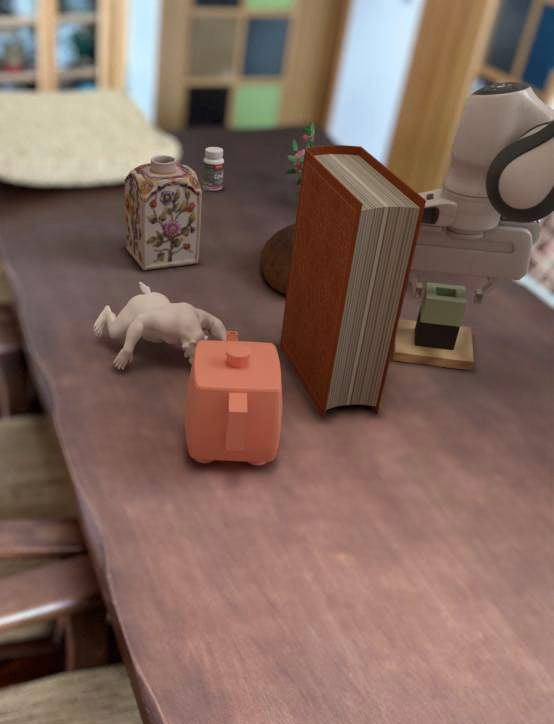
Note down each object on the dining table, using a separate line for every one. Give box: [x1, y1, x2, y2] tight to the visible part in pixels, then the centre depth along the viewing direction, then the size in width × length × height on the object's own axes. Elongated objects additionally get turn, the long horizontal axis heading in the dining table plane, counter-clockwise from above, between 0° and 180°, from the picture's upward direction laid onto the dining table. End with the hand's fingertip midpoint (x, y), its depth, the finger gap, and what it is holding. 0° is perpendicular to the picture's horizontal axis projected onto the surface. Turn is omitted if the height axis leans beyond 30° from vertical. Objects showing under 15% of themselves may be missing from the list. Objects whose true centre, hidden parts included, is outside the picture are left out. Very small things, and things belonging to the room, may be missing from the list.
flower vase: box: [284, 121, 324, 186], centre depth 181 cm, size 12×12×35 cm
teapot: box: [184, 330, 283, 466], centre depth 108 cm, size 22×13×14 cm, turn 177°
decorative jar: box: [124, 154, 203, 272], centre depth 154 cm, size 12×12×18 cm
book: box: [279, 144, 426, 420], centre depth 116 cm, size 23×8×30 cm, turn 9°
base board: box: [392, 318, 475, 371], centre depth 130 cm, size 12×12×8 cm
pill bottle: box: [201, 146, 225, 192], centre depth 187 cm, size 5×5×8 cm
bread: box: [259, 223, 295, 295], centre depth 151 cm, size 28×27×9 cm
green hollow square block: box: [420, 281, 468, 327], centre depth 128 cm, size 6×6×4 cm
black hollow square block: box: [415, 305, 460, 350], centre depth 131 cm, size 6×6×4 cm
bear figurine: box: [92, 281, 228, 371], centre depth 128 cm, size 17×14×20 cm
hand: (446, 299), depth 128 cm, fingers open, 8 cm apart
